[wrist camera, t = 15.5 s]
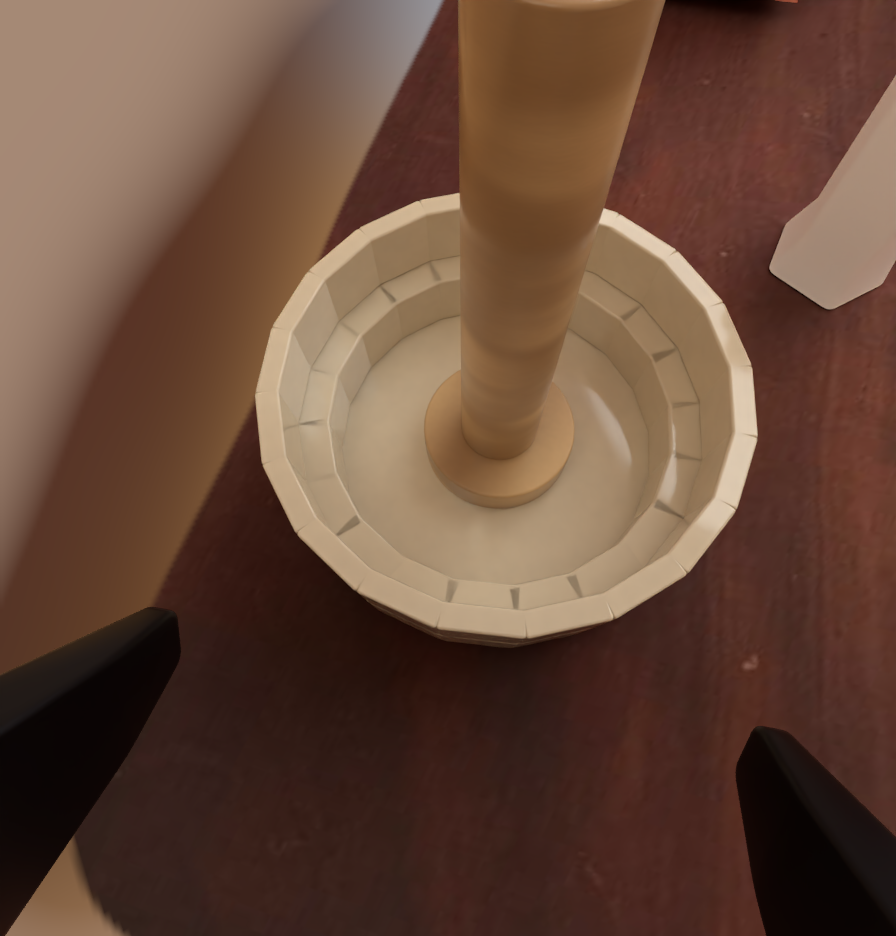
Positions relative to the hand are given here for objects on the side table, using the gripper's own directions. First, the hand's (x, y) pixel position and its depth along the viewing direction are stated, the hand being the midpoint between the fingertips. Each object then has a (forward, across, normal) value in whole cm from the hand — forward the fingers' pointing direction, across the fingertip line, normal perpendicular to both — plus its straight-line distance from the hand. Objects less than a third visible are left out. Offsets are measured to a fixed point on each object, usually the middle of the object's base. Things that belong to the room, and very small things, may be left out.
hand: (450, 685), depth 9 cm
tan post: (+10, 0, 0) cm, 10 cm away
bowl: (+10, 0, 0) cm, 11 cm away
